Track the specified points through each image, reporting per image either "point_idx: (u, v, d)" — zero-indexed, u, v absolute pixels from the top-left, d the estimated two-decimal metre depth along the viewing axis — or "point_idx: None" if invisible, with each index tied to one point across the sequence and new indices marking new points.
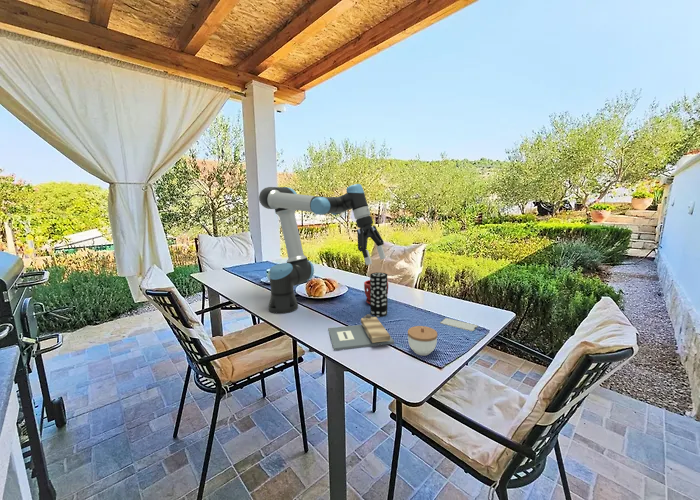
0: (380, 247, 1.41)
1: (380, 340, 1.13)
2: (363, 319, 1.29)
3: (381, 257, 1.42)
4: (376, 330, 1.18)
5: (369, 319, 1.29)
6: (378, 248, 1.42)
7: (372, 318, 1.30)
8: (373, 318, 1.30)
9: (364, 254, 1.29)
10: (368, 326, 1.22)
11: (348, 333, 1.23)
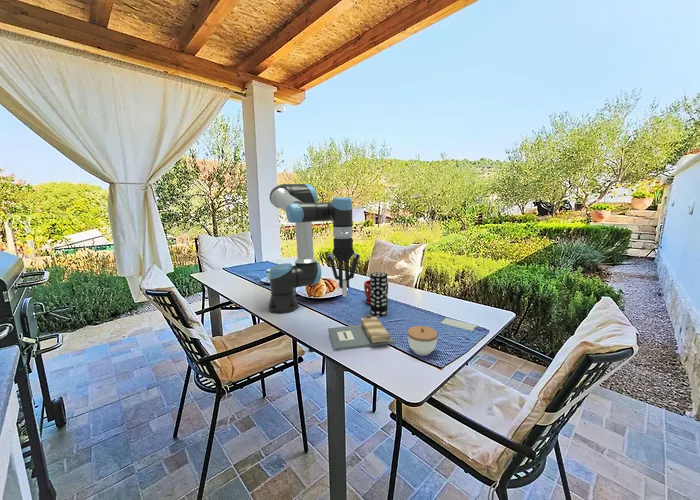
0: None
1: (380, 340, 1.13)
2: (363, 319, 1.29)
3: None
4: (376, 330, 1.18)
5: (369, 319, 1.29)
6: None
7: (372, 318, 1.30)
8: (373, 318, 1.30)
9: (339, 284, 1.17)
10: (368, 326, 1.22)
11: (348, 333, 1.23)
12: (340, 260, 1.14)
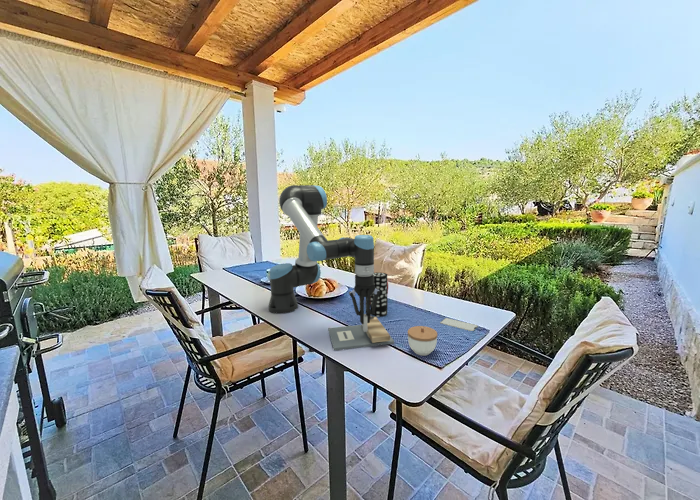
0: None
1: (380, 340, 1.13)
2: None
3: None
4: (376, 330, 1.18)
5: None
6: None
7: (372, 318, 1.30)
8: (373, 318, 1.30)
9: (360, 319, 1.19)
10: (368, 326, 1.22)
11: (348, 333, 1.23)
12: (362, 297, 1.16)
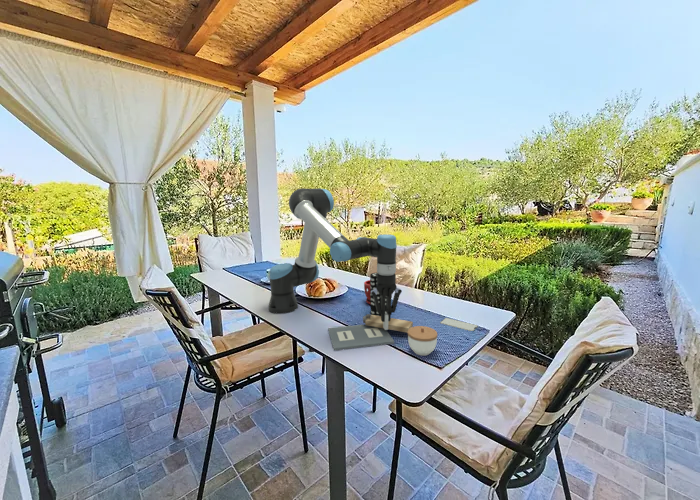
0: None
1: None
2: (369, 320, 1.28)
3: None
4: (397, 322, 1.25)
5: (372, 318, 1.30)
6: None
7: (372, 316, 1.31)
8: (373, 316, 1.32)
9: (381, 317, 1.21)
10: None
11: (348, 333, 1.23)
12: (383, 295, 1.18)
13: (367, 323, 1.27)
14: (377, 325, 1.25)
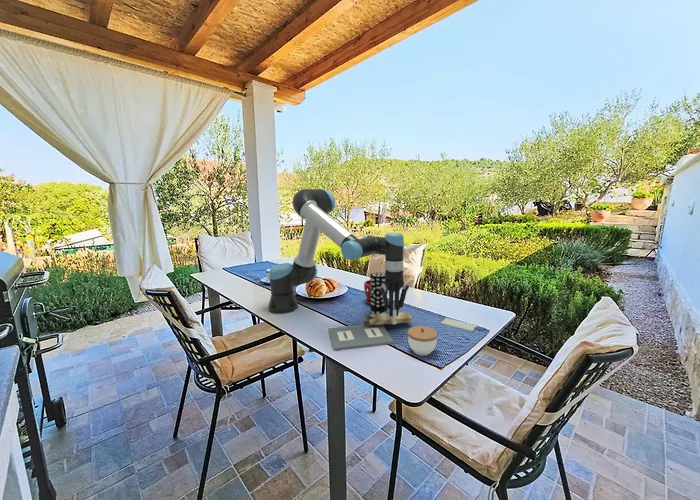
0: None
1: None
2: (372, 319, 1.28)
3: None
4: None
5: (373, 317, 1.31)
6: None
7: (371, 316, 1.32)
8: (371, 315, 1.33)
9: (389, 312, 1.26)
10: (388, 318, 1.29)
11: (348, 333, 1.23)
12: (391, 291, 1.23)
13: (372, 323, 1.28)
14: (382, 322, 1.28)
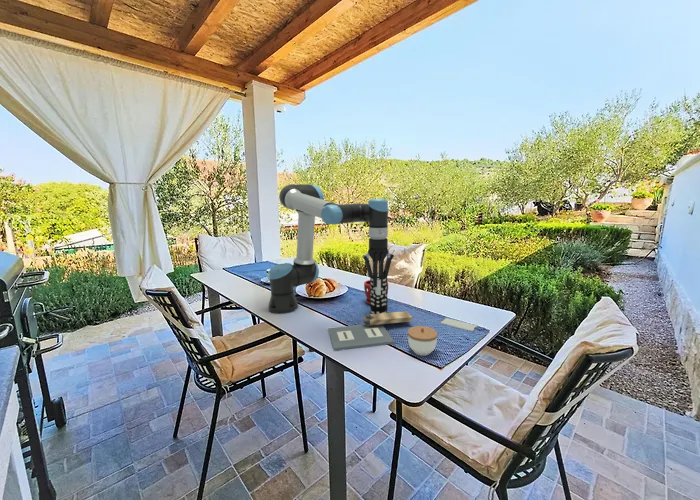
0: None
1: None
2: (373, 319, 1.28)
3: None
4: (397, 315, 1.33)
5: (373, 317, 1.31)
6: None
7: (370, 316, 1.32)
8: (371, 315, 1.33)
9: (373, 283, 1.21)
10: (388, 317, 1.30)
11: (348, 333, 1.23)
12: (375, 260, 1.17)
13: (372, 323, 1.28)
14: (382, 322, 1.28)
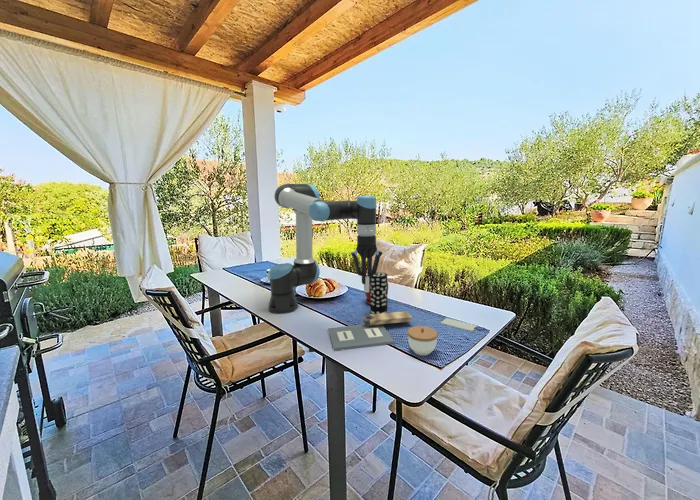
0: None
1: None
2: (373, 319, 1.28)
3: None
4: (397, 315, 1.33)
5: (373, 317, 1.31)
6: None
7: (370, 316, 1.32)
8: (371, 315, 1.33)
9: (362, 280, 1.21)
10: (388, 317, 1.30)
11: (348, 333, 1.23)
12: (364, 257, 1.17)
13: (372, 323, 1.28)
14: (382, 322, 1.28)
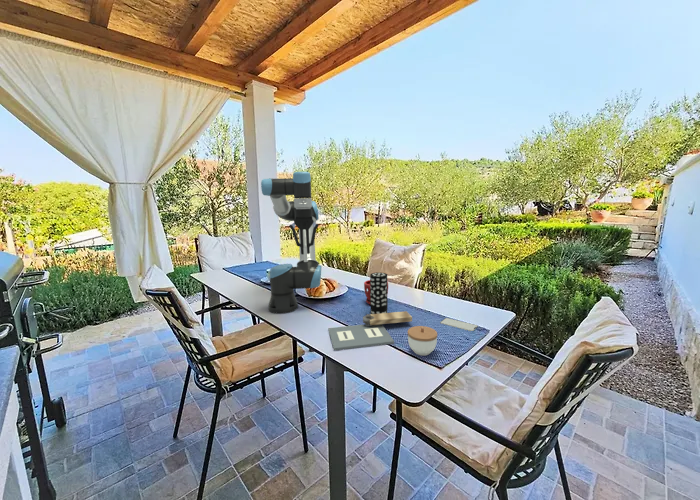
0: None
1: None
2: (373, 319, 1.28)
3: None
4: (397, 315, 1.33)
5: (373, 317, 1.31)
6: None
7: (370, 316, 1.32)
8: (371, 315, 1.33)
9: (301, 251, 1.31)
10: (388, 317, 1.30)
11: (348, 333, 1.23)
12: (300, 228, 1.28)
13: (372, 323, 1.28)
14: (382, 322, 1.28)
